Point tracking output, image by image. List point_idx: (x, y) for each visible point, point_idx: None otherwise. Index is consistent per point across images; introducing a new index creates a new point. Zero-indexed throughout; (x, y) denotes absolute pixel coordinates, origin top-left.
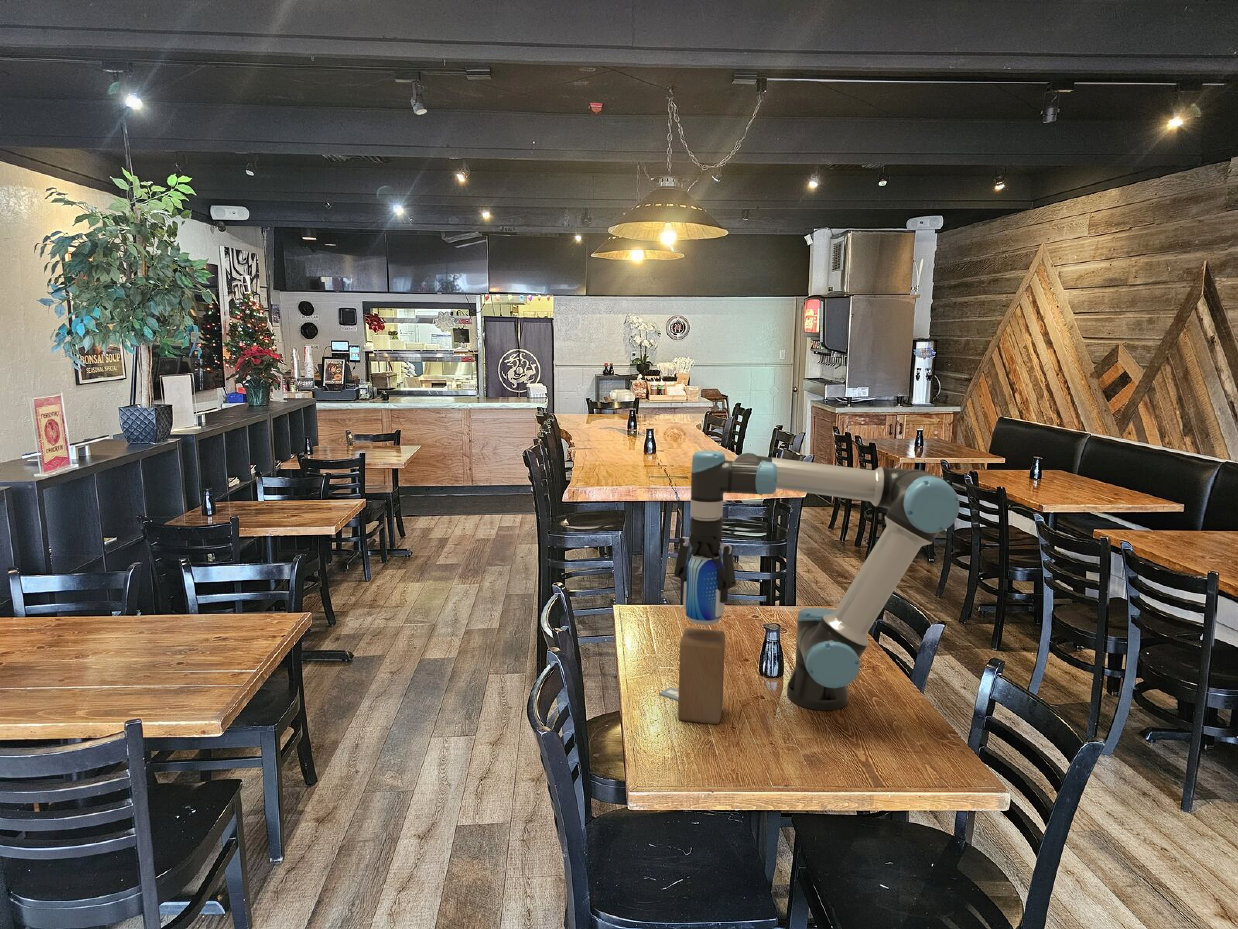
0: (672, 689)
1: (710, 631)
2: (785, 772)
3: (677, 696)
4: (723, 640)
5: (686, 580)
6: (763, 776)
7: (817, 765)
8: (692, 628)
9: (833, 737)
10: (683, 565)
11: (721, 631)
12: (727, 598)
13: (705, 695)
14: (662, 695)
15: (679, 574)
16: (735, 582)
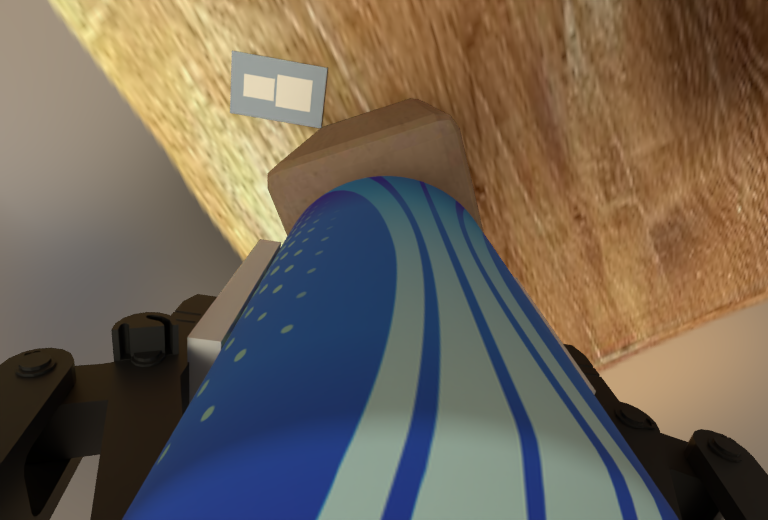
0: (248, 66)
1: (398, 175)
2: (620, 310)
3: (285, 107)
4: (477, 213)
5: (187, 402)
6: (581, 340)
7: (682, 257)
8: (303, 182)
9: (724, 111)
10: (10, 503)
11: (446, 142)
12: (589, 363)
13: None
14: (242, 114)
15: (77, 447)
16: (761, 475)
